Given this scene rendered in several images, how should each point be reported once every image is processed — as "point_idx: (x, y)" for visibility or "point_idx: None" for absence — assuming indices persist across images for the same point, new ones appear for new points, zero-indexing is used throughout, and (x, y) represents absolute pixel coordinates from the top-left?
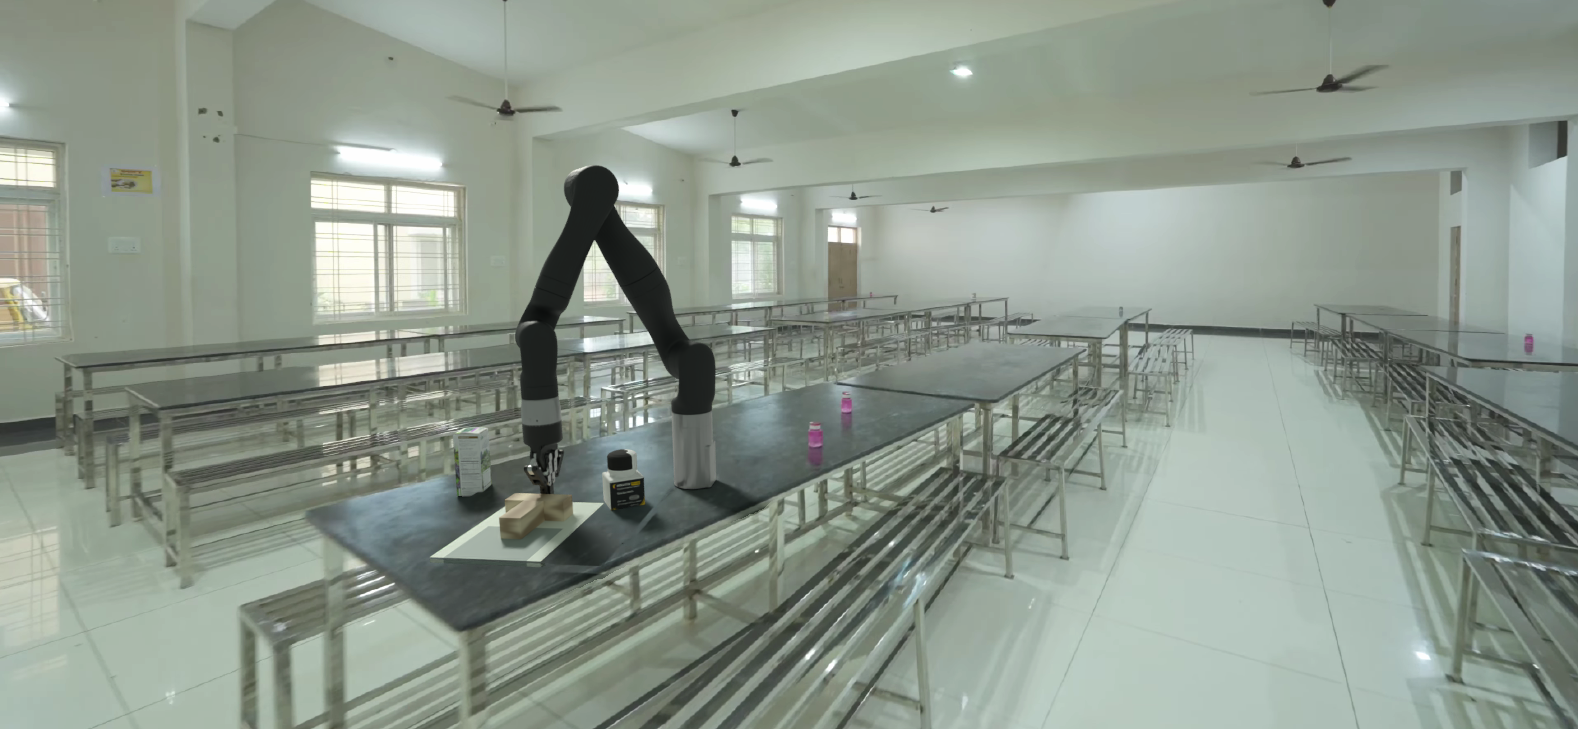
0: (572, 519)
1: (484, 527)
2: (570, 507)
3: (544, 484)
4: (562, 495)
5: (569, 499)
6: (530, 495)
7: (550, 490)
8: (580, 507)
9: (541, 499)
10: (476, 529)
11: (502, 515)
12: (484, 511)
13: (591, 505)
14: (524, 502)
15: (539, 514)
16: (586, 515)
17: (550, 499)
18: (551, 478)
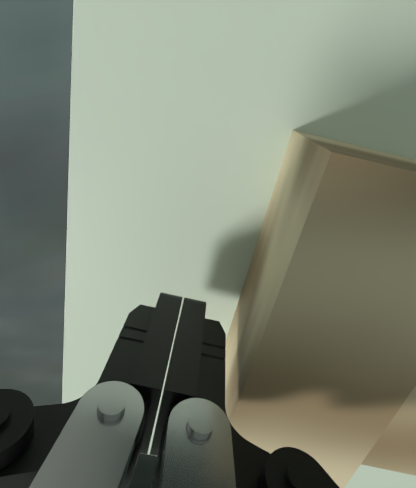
0: (407, 110)
1: (363, 469)
2: (343, 146)
3: (320, 471)
4: (329, 244)
5: (384, 161)
6: (260, 447)
7: (197, 360)
8: (172, 102)
9: (380, 380)
10: (377, 485)
11: None
12: (136, 480)
13: (134, 17)
14: (407, 458)
15: None
16: (357, 9)
17: (411, 322)
18: (132, 447)
